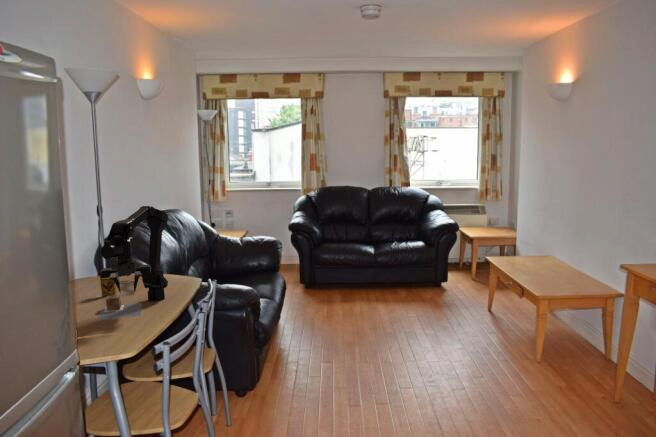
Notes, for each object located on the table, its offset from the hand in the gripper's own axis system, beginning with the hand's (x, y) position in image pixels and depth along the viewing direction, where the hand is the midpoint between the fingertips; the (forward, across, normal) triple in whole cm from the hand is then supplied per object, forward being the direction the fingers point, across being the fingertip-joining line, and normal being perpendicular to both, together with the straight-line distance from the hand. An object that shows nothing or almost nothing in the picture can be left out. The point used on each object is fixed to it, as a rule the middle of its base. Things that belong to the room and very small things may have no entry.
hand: (127, 292), depth 217 cm
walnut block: (+9, -7, +10) cm, 15 cm away
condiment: (+10, -12, +35) cm, 38 cm away
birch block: (+1, 0, 0) cm, 1 cm away
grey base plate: (+10, -4, +5) cm, 12 cm away
